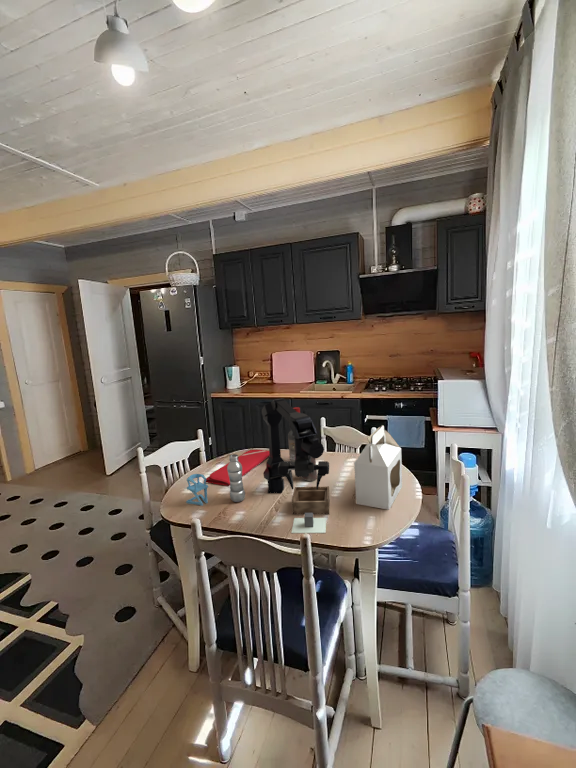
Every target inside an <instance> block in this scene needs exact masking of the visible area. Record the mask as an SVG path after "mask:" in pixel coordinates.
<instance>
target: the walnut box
mask: <svg viewBox="0 0 576 768" xmlns="http://www.w3.org/2000/svg"><path fill="white" fill-rule="evenodd" d="M330 500H331V498H330V487H329V486H325V485H323V486H318V489H316V486H294V487H293V493H292V497H291V507H292V509H291V511H292V515H305V513H313V515H330V506H331V503H330Z"/></svg>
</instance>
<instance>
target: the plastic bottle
mask: <svg viewBox="0 0 576 768" xmlns="http://www.w3.org/2000/svg"><path fill="white" fill-rule="evenodd" d="M238 457H239V456H238V454H237V453H235V454H234V453H233V454H230V455H229V457H228V461H229V462H228V463H229V464H228V463H227V464H228V466H227V471H228V475H229V479H230V486H229V489H230V490H229V497H230V500H231V501H232V502H234V503H239V502H242V501H244V500H245V498H246V492H245V489H244V484H243V477H242V465H241V463H240V462H239V461H238Z"/></svg>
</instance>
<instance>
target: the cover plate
mask: <svg viewBox="0 0 576 768" xmlns="http://www.w3.org/2000/svg"><path fill="white" fill-rule="evenodd" d="M303 515H304V517H294V519H293V522H292V523H293V524H292V528H291V534H326V531H327V529H326V528H327V517H314V514H313V513H305V514H303Z"/></svg>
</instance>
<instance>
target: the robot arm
mask: <svg viewBox="0 0 576 768" xmlns="http://www.w3.org/2000/svg"><path fill="white" fill-rule="evenodd" d="M293 408H294V407H292V405H290V404H289V403H288V402H287V400H286V399H285V398H283V397H282V398H277V399H273V400H272V401H271V402H269V403H267V404H266V405H263V407H262V409H261V415H262V420H264V421H265V423H266V425H267V437H268V438H267V439H268V451H269V454H270V456H268V457H267V458H268V459H267V461H266V463H265V466H266V468H265V469H264V471H263V473H262V474H263V478H264V479H265V480H266V481H267V488H268V489H267V494H283V491H284V489H285V480H284V479H285V478H286V479H287V481H288V483H289V486H290V488H291V490H294V480H293V471H294V476H295V477H296V478H299V477H301V478H302V477H308V476H309V473H311V472H314V470H317V479H316V484H315V485H316V486H315V487H316V489H318V487H320V483H321V480H322V478H323V477H325V476H326V475H329V474H330V463H329V461H325V460H324V461H323V460H322V461H318V463H317V464H316V465H314V463H313V462H311V457H312V458H315V459H319V458H320V457H322V455H323V453H324V452H325V451H324V450H325V449H324V448H325V447H324V445H323V444H322V443H321V442H319V438H317V437H316V436H318V432H317V428H316V426H315V424H314V421H313V420H312V418H311V417H310V416H309V415H307V414H306V413H303V412H300V413H299V412H297V411H296V410H295V409H293ZM283 418H284V419H285V420H286V421H287V422H288V423H289V425H288V426H289V429H290V430H292V432H293V433H292V435H293V436H294V441H295V458H296V459H295V465H291V464H290V460H289V461H285V460H284V459H283V458H282V455H281V452H282V451H281V439H280V438H281V437H280V423H281V422H282V419H283ZM306 431H307V432H306ZM303 432H306V433H303ZM284 477H285V478H284Z"/></svg>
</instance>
